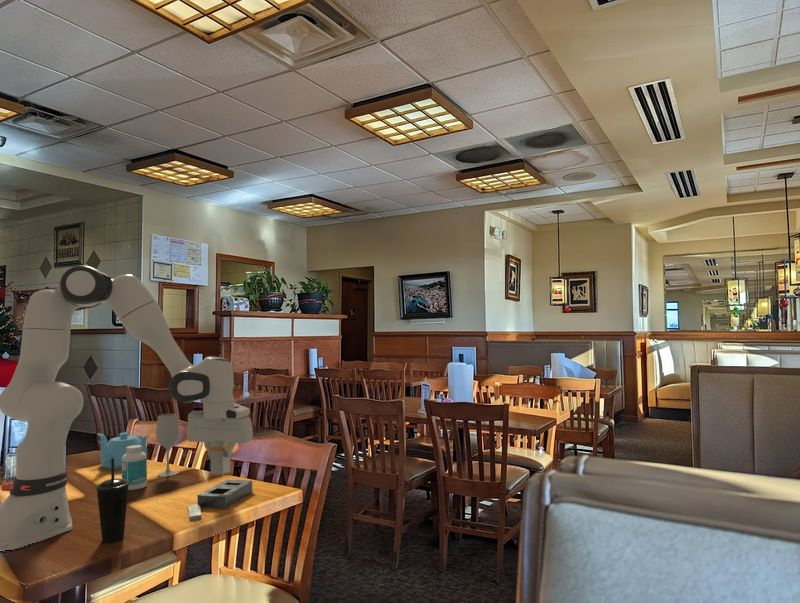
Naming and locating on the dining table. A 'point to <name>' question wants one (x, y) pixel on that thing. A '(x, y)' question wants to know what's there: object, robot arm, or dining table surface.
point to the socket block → (224, 494)
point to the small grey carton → (219, 457)
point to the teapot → (118, 448)
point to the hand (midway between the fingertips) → (220, 456)
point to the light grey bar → (194, 512)
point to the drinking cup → (112, 507)
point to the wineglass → (167, 437)
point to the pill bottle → (134, 467)
